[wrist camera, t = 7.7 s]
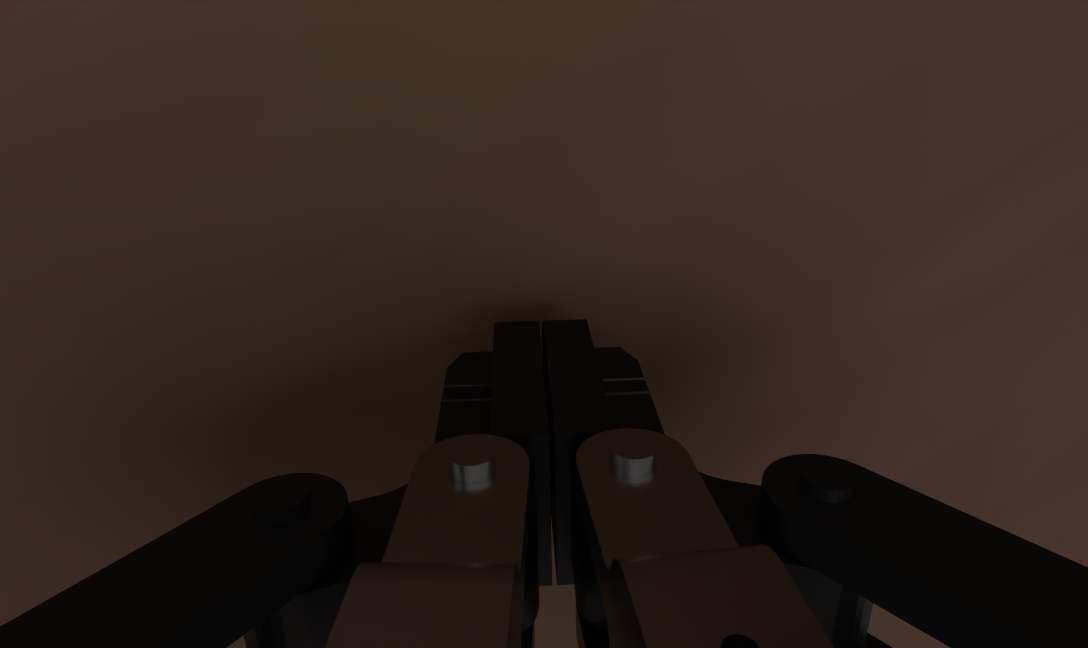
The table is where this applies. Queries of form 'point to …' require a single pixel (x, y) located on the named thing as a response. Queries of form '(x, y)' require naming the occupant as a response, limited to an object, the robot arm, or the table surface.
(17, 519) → the table surface
